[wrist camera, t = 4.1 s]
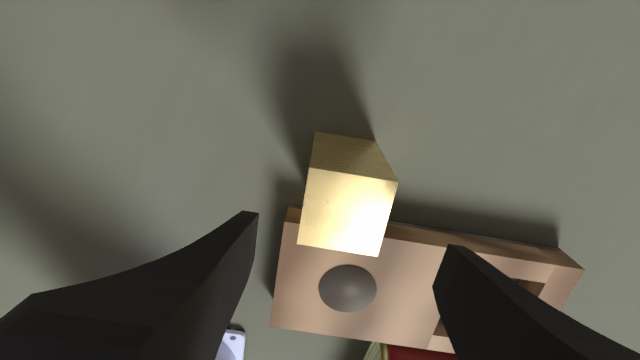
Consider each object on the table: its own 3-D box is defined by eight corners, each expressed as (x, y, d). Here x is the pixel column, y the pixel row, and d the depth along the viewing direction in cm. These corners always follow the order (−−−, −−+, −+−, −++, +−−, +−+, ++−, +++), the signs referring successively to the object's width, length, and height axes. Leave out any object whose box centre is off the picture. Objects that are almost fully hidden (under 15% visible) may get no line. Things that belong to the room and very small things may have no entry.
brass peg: (306, 186, 22) (296, 243, 15) (315, 130, 20) (309, 167, 14) (362, 196, 22) (377, 256, 15) (375, 141, 20) (398, 182, 14)
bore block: (274, 301, 25) (268, 327, 23) (288, 204, 22) (284, 222, 20) (510, 336, 26) (528, 365, 24) (558, 247, 23) (586, 270, 20)
